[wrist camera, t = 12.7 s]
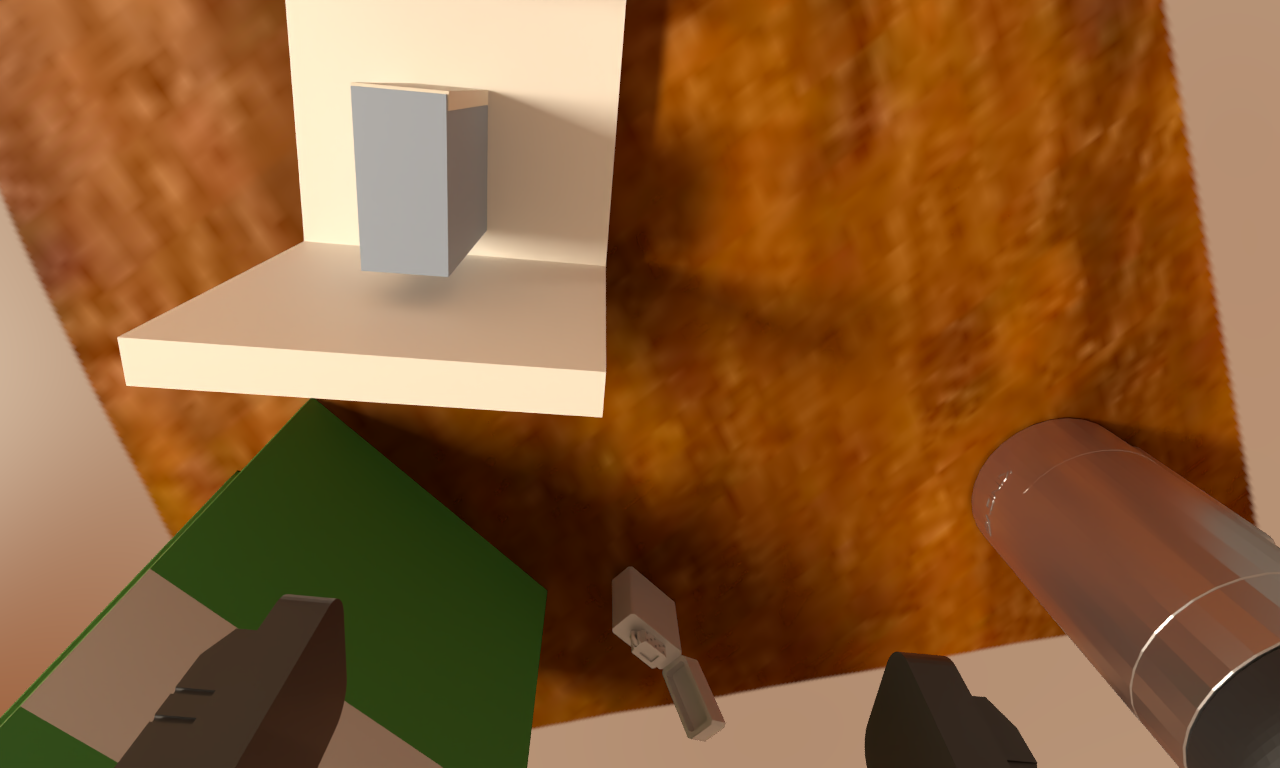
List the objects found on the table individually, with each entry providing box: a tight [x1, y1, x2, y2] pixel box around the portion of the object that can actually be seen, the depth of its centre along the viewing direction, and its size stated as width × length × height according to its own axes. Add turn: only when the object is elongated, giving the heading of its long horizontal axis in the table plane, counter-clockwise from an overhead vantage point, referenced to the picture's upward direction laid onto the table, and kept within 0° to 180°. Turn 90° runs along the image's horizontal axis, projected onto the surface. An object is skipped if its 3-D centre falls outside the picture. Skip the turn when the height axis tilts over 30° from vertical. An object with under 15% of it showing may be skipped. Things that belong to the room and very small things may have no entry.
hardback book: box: [0, 398, 547, 768], centre depth 31 cm, size 18×7×24 cm, turn 42°
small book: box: [351, 82, 488, 277], centre depth 29 cm, size 3×6×9 cm, turn 175°
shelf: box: [117, 0, 626, 417], centre depth 26 cm, size 14×20×16 cm
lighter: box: [612, 567, 725, 741], centre depth 41 cm, size 7×2×8 cm, turn 44°
